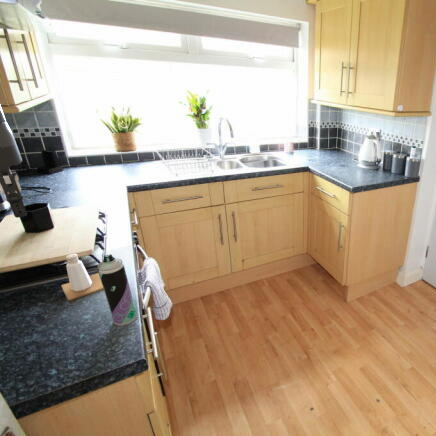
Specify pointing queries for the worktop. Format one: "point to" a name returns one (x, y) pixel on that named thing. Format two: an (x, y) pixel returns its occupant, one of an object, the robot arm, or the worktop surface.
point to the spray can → (117, 290)
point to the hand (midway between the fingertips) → (19, 211)
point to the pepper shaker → (77, 273)
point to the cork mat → (74, 295)
